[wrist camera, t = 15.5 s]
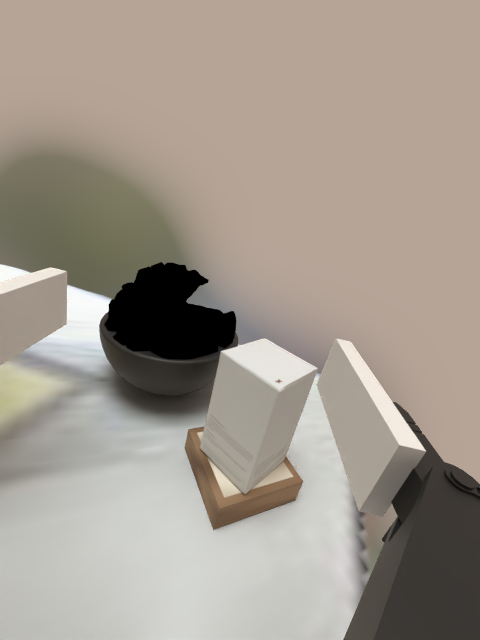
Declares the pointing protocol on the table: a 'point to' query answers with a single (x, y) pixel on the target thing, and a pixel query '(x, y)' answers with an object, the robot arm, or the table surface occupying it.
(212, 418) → the supplement box
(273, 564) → the table surface
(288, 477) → the walnut base
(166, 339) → the bowl of black rocks
